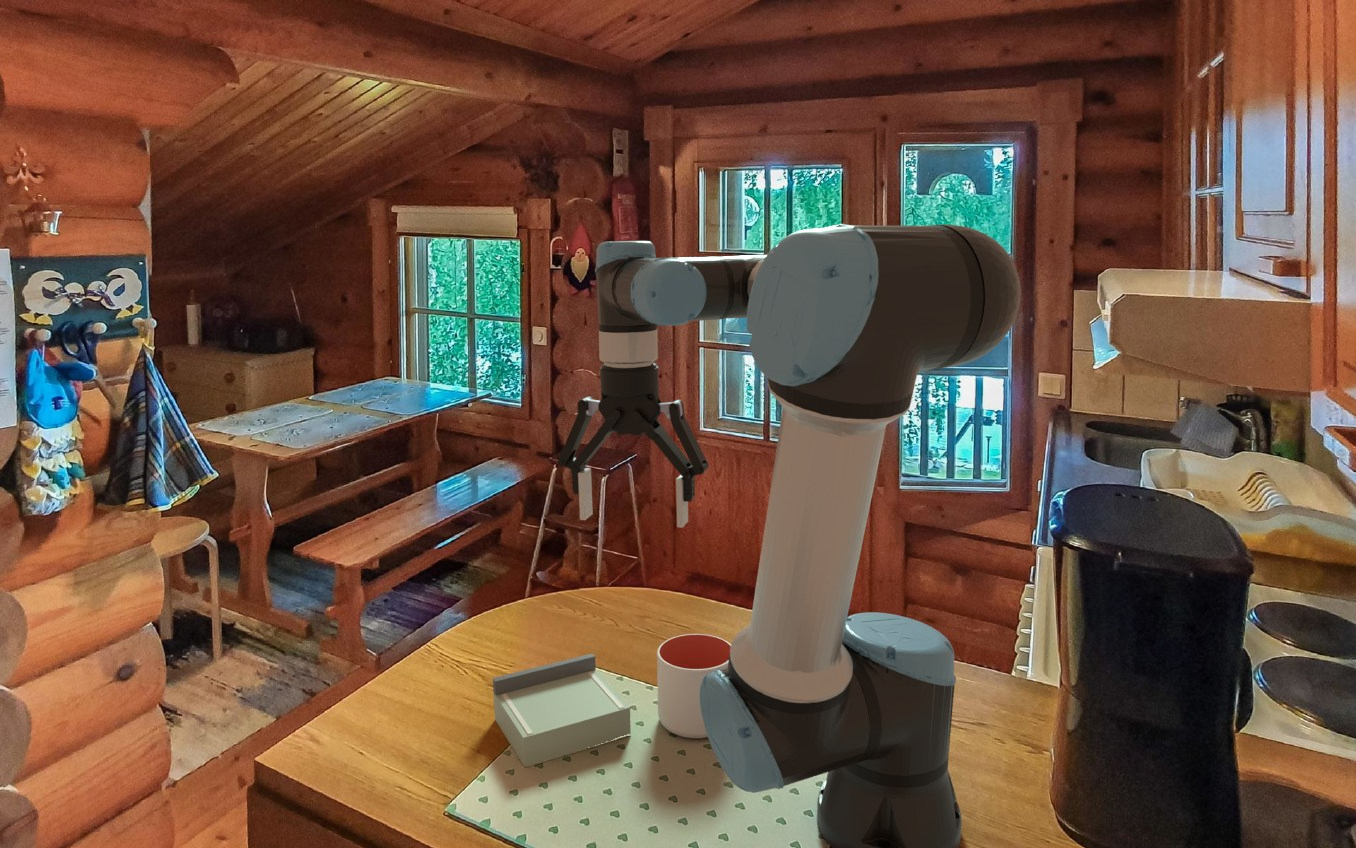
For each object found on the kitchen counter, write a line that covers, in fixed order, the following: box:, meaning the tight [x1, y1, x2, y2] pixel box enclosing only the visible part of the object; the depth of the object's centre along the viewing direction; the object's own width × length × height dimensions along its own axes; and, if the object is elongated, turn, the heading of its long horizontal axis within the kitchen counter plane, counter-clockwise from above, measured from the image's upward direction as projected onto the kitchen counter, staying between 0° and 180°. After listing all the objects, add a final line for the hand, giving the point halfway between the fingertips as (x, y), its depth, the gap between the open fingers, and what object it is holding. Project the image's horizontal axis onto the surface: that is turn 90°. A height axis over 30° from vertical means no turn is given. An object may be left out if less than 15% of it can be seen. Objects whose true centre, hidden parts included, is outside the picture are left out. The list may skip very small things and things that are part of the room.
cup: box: [656, 633, 732, 739], centre depth 117 cm, size 10×10×10 cm
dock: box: [492, 653, 632, 768], centre depth 116 cm, size 12×14×6 cm
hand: (633, 521), depth 121 cm, fingers open, 13 cm apart
